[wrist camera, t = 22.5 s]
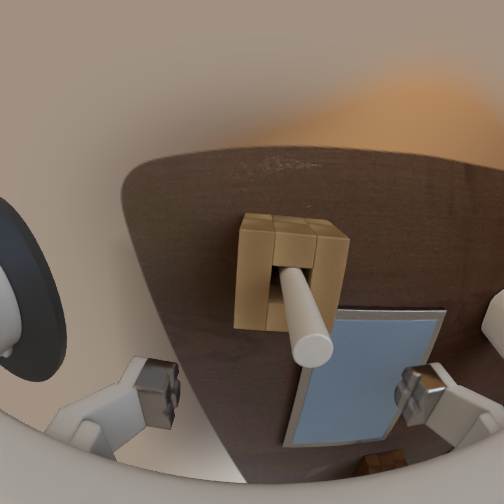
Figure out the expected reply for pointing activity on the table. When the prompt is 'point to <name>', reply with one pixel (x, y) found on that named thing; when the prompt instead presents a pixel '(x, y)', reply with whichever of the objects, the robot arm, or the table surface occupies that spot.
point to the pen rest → (288, 255)
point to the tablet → (360, 375)
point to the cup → (495, 323)
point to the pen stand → (380, 463)
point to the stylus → (304, 320)
